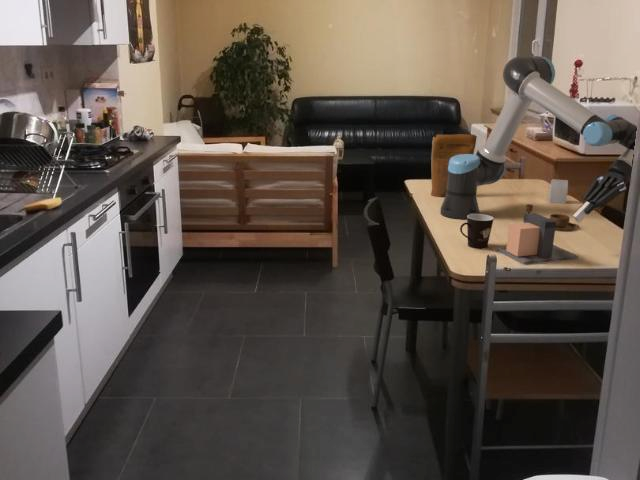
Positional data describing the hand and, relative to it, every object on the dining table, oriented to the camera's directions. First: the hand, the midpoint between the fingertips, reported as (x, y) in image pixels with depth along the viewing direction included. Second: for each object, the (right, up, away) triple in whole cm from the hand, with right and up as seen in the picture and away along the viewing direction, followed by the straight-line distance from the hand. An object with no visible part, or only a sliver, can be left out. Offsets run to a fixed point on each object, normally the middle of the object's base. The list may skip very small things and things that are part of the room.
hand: (576, 219), depth 205 cm
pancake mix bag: (-25, +12, +77) cm, 82 cm away
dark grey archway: (-13, -11, -1) cm, 17 cm away
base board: (-13, -12, 0) cm, 17 cm away
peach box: (-17, -11, -2) cm, 21 cm away
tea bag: (+20, +9, +70) cm, 74 cm away
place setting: (+6, -1, +36) cm, 37 cm away
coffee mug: (-32, -9, +8) cm, 34 cm away
